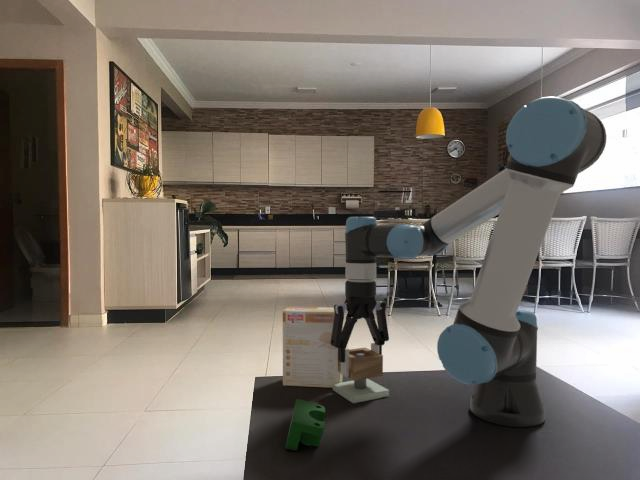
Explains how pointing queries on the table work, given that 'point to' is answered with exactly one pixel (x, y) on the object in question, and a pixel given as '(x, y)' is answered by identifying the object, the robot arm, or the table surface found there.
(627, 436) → the table surface
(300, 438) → the clamp
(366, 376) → the collar
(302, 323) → the coffeecake box
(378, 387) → the sage green base plate
